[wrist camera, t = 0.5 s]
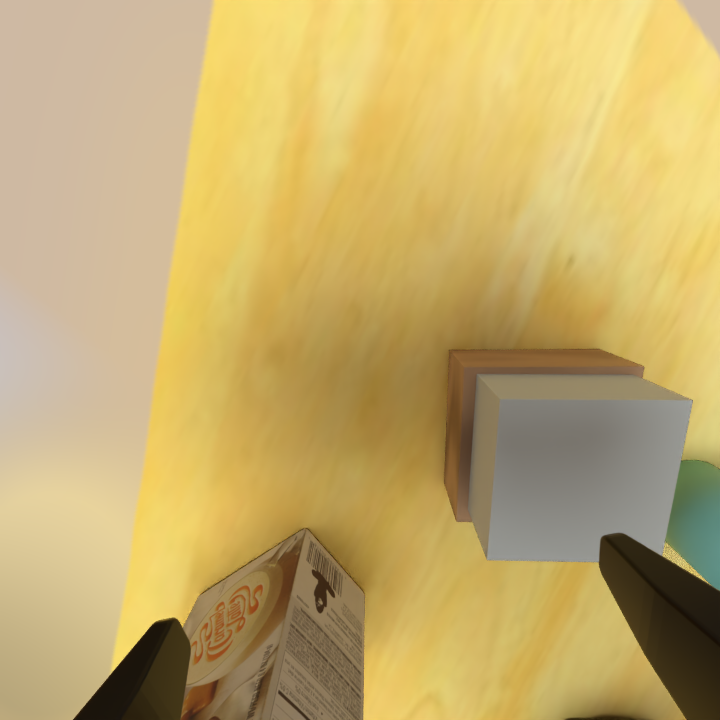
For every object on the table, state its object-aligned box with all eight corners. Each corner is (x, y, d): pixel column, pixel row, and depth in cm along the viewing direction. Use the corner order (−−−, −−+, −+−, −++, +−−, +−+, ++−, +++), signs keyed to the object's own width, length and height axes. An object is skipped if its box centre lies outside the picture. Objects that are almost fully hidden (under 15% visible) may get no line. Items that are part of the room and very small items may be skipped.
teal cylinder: (719, 536, 24) (807, 605, 19) (634, 535, 24) (699, 603, 19) (737, 460, 23) (834, 512, 18) (646, 459, 23) (719, 511, 18)
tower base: (579, 480, 24) (619, 523, 20) (443, 479, 24) (456, 521, 20) (596, 348, 22) (644, 366, 18) (448, 348, 22) (464, 367, 18)
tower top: (611, 511, 20) (660, 563, 17) (467, 509, 20) (487, 560, 17) (633, 374, 18) (693, 400, 15) (476, 374, 18) (499, 399, 15)
